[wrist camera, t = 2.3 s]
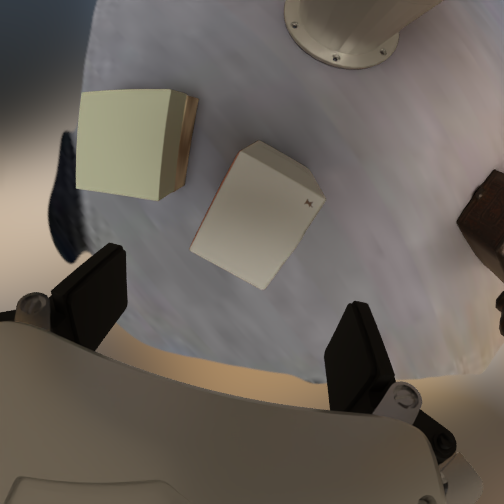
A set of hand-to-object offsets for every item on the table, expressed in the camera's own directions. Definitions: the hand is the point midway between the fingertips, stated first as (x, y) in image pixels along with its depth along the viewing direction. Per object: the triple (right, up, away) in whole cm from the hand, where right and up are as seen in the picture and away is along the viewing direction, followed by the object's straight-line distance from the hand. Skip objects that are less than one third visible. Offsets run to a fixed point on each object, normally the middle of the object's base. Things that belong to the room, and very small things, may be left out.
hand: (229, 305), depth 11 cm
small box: (+2, +9, +19) cm, 21 cm away
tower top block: (-11, +14, +14) cm, 23 cm away
